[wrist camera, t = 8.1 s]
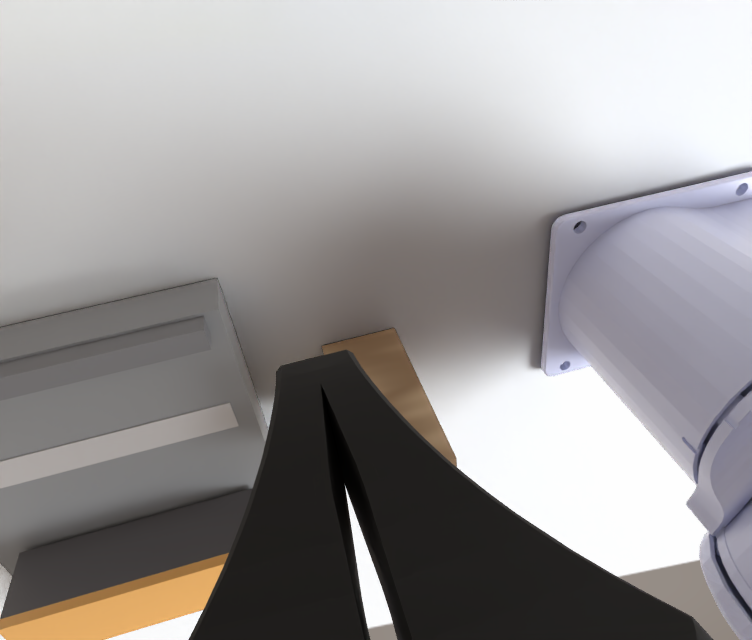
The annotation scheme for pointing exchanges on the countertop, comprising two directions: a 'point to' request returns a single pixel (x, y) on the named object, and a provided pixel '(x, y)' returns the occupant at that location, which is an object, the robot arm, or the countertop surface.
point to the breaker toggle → (122, 574)
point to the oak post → (397, 382)
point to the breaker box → (122, 415)
